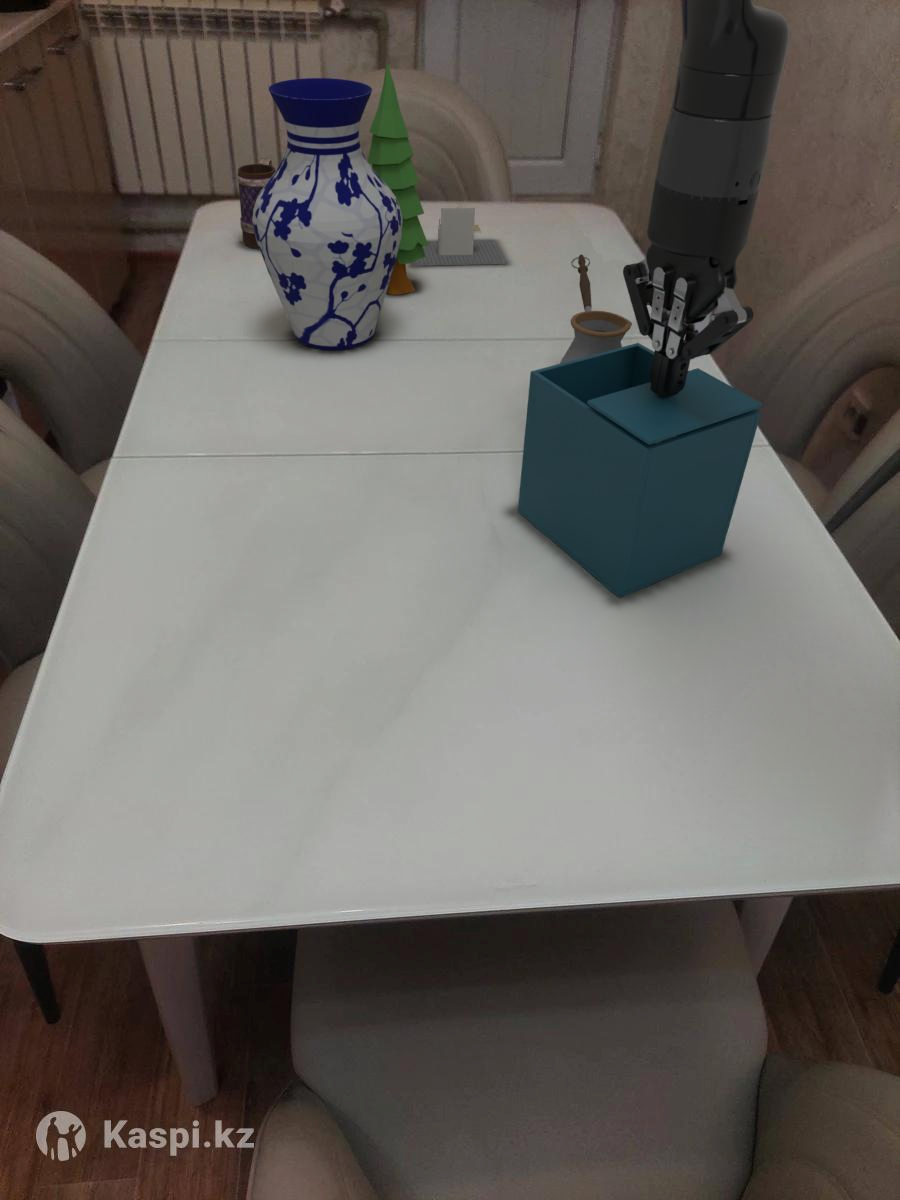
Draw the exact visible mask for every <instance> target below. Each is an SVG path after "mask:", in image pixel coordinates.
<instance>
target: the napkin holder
mask: <svg viewBox="0 0 900 1200" xmlns="http://www.w3.org/2000/svg"><path fill="white" fill-rule="evenodd" d="M440 209H441V210H440V212H441V213H440V218H439V219H438V228H437V241H436V242H437V253H438V254H439V255H440V256H446V255H448V256H450V255H473V254H474V243H475V241H476V240H475V234H482V230H481V227H480V226H479V224H475V220H476V219H475V217H476V207H462V204H458V205H457V207H441V208H440Z"/></svg>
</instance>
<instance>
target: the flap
mask: <svg viewBox="0 0 900 1200" xmlns="http://www.w3.org/2000/svg"><path fill="white" fill-rule="evenodd" d="M587 404H588V405H589V406H591V407H592V408H594V409H595V410H597V411H598V412H600V413H601V414H603V415H604V416H606V417H607V418H609V419H610V420H612V421H613V422H615V423H616V424H618V425H619V426H621V427H623V428H624V429H626V430H627V431H629V432H630V433H632V434H633V435H635V436H636V437H638V438H639V439H641V440H642V441H644V442H645V443H647V444H648V445H650V444H653V443H656V442H659V441H662V440H665V439H668V438H671V437H674V436H677V435H680V434H683V433H686V432H689V431H692V430H695V429H698V428H701V427H704V426H707V425H710V424H713V423H716V422H719V421H722V420H725V419H728V418H731V417H734V416H737V415H740V414H743V413H746V412H749V411H752V410H755V409H757V410H758V409H761V408H762V407H763V402H760V401H759V400H756V399H755V398H753V397H751V396H749V395H747V394H746V393H744V392H742V391H740V390H738V389H737V388H735V387H733V386H731V385H729V384H728V383H726V382H724V381H722V380H721V379H719V378H717V377H715V376H713V375H711V374H710V373H707V372H706V371H704V370H702V369H701V368H699V367H697V368H694V369H690V370H688V373H687V378H686V383H685V386H684V388H683V390H682V391H680V392H679V393H678V394H676V395H673V396H670V397H667V398H663V397H661V396H659V395H658V394H656V393H654V392H652V391H651V383H650V382H649V383H646V384H642V385H639V386H636V387H632V388H629V389H625V390H622V391H619V392H615V393H612V394H608V395H605V396H602V397H598V398H595V399H591V400H588V401H587Z"/></svg>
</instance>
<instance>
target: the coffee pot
mask: <svg viewBox="0 0 900 1200" xmlns="http://www.w3.org/2000/svg"><path fill="white" fill-rule="evenodd" d="M576 260H577V261H578V262H577V264H578V266H575V265H574V264H573V263H574V261H576ZM586 260H588V263H587V265H586V262H587V261H586ZM570 263H571V267H573V268H574V269H577V272H578V274H579V285H578V286H579V289H580V294H581V300H582V305H583V309H584V311H581V312H579V313H576V314H573V316H572V317H571V319H570V326H571V327H572V329H573V331H574V332H573V333H574V339H573V340H572V342H571V343H570V345H569V346H568V348H567V350H566V352H565V354H564V355H563V357H562V358H561V361H560V362H559V364H561V363H564V362H568V361H572V360H576V359H579V358H583V357H587V356H591V355H594V354H598V353H602V352H606V351H609V350H613V349H617V348H621V347H623V346H622V345H623V344H622V340H623V339H624V337H625V335H626V334H627V333H628V332H629V331H630V329H631V327H632V325H633V322H632V321H631V320H629V319H627V318H626V317H624V316H622V315H620V314H617V313H614V312H610V311H606V310H605V311H604V310H592V309H593V308H592V307H593V306H592V292H591V281H590V279H589V276H588V272H589V268H588V267H589V266H590V265H591V260H590V258H589V257H587V256H585V255H584V254H579V255H578V256H577V257H574V258H573V259H572V260H571V262H570Z"/></svg>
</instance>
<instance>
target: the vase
mask: <svg viewBox="0 0 900 1200" xmlns="http://www.w3.org/2000/svg"><path fill="white" fill-rule="evenodd" d="M268 91H269V94H270V96H271V98H272V99H273V101H274V103H275V106H277V109H278V111H279V112H280V114H281V117H282V119H283V122H284V124H285V128H286V135H287V136H286V138H287V144H286V150H285V153H284V155H283V158H282V160H281V161H280V163H279V165H278V167H277V169H275V170H276V171H275V173H274V174H273V175H272V177H271V178H270V180H269V181H268V182H267V183H266V185H265V186H264V187H263V189H262V190H261V192H260V193H259V195H258V197H257V199H256V202H255V206H254V210H253V219H252V221H253V227H254V232H255V238H256V241H257V243H258V246H259V249H258V250H259V251H260V254H261V257H262V260H263V262H264V265H265V268H266V270H267V273H268V275H269V277H270V280H271V283H272V284H273V287H274V289H275V291H276V294H277V296H278V298H279V301H280V303H281V305H282V308H283V309H284V312H285V315H286V316H287V319H288V322H289V324H290V326H291V328H292V331H293V334H294V336H295V338H296V340H297V341H298V342H299V343H301V344H302V345H304V346H305V347H306V346H307V347H310V348H312V349H317V350H324V351H342V350H343V351H344V350H350V349H354V348H359V347H361V346H363V345H366V344H368V343H369V342H370V341H371V340H372V339H373V338H374V335H375V332H376V327H377V324H378V321H379V318H380V315H381V311H382V308H383V304H384V302H385V299H386V296H387V293H386V292H387V289H388V286H389V282H390V279H391V276H392V272H393V269H394V265H395V261H396V257H397V253H398V249H399V245H400V242H401V236H402V221H403V220H402V215H401V210H400V206H399V203H398V201H397V199H396V197H395V195H394V194H393V193H392V191H391V190H390V189H389V187H388V186H387V185H386V184H385V183H384V182H383V180H382V179H381V178H380V177H379V176H378V175H377V173H376V172H375V171H374V170H373V169H372V165H371V164H369V163H368V159H367V158H366V155H365V154H364V152H363V149H362V146H361V143H360V126H361V120H362V117H363V114H364V112H365V110H366V107H367V106H368V102H369V100H370V97H371V95H372V92H373V87H371V86H370V85H368V84H366V83H363V82H360V81H356V80H350V79H341V78H330V77H329V78H328V77H310V78H309V77H307V78H296V79H295V78H294V79H288V80H287V79H286V80H282V81H278V82H275V83H273V84H270V86H268Z"/></svg>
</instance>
